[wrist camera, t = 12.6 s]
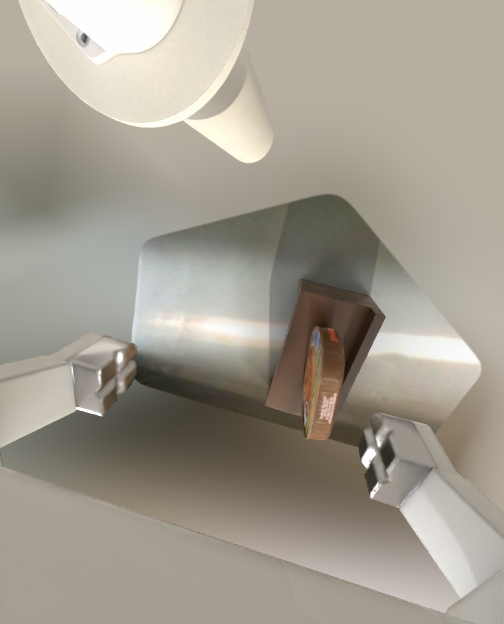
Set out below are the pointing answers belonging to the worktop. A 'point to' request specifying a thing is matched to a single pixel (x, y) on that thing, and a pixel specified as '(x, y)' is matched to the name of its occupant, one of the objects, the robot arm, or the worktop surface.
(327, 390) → the tin
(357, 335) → the shelf
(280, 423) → the worktop surface
